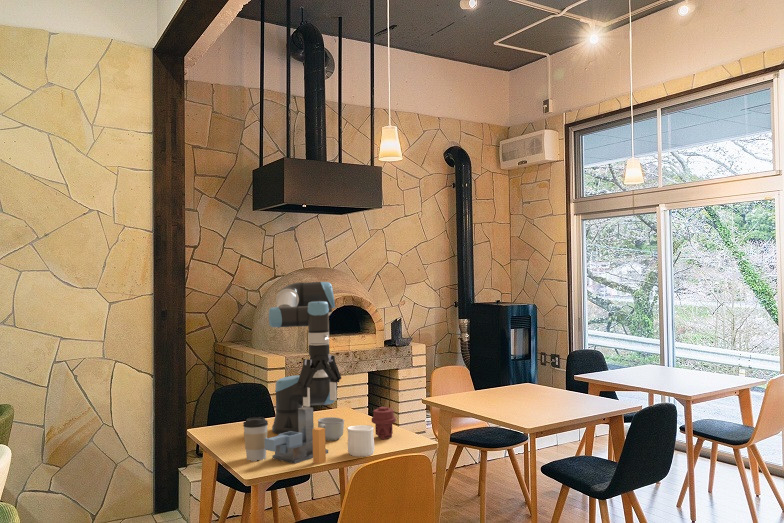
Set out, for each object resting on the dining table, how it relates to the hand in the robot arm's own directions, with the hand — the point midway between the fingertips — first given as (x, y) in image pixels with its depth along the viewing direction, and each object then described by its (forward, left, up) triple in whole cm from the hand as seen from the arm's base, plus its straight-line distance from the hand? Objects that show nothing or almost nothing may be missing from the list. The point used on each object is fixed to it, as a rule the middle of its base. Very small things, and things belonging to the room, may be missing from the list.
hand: (320, 403), depth 231 cm
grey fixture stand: (-12, +1, -21) cm, 24 cm away
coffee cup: (-23, -11, -21) cm, 33 cm away
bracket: (-12, -7, -18) cm, 23 cm away
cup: (+5, +16, -21) cm, 27 cm away
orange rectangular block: (0, -1, -21) cm, 21 cm away
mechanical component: (-3, +39, -21) cm, 45 cm away
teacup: (-20, +24, -21) cm, 38 cm away
